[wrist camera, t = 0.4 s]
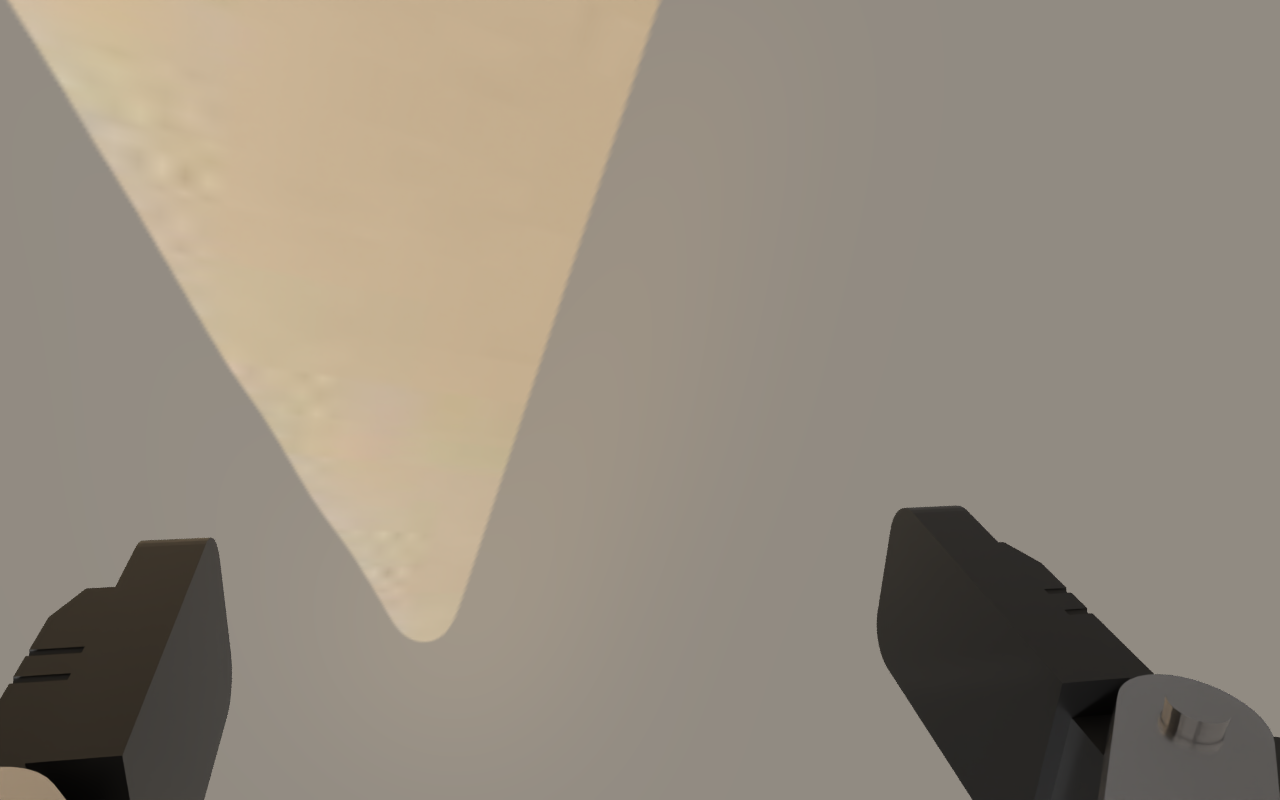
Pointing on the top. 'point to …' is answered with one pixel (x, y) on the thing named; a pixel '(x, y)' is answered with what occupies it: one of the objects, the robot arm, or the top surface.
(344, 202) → the top surface
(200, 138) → the top surface
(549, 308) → the top surface
